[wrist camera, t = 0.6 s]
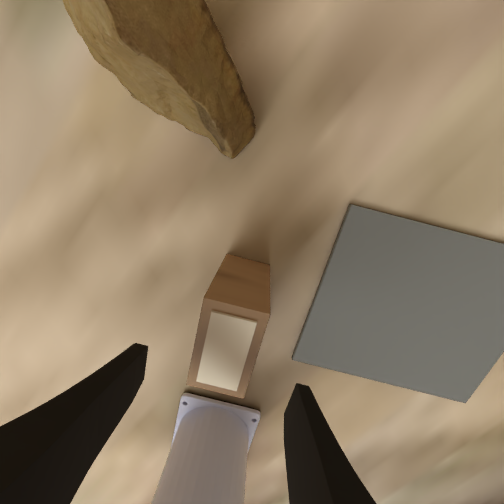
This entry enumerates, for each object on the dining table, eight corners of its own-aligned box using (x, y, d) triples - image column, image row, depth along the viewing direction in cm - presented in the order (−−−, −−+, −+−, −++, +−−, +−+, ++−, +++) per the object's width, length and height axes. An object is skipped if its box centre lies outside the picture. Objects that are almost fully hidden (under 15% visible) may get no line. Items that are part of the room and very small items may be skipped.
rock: (308, 129, 13) (243, -133, 9) (200, 181, 8) (-48, -360, 4) (198, 170, 21) (135, 33, 17) (104, 212, 16) (-18, 27, 12)
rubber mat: (462, 399, 21) (465, 403, 21) (291, 356, 21) (292, 360, 21) (563, 259, 17) (570, 261, 17) (349, 203, 17) (351, 204, 16)
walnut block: (251, 326, 21) (243, 401, 14) (212, 316, 21) (185, 386, 14) (269, 264, 19) (270, 315, 12) (226, 253, 19) (203, 299, 12)
